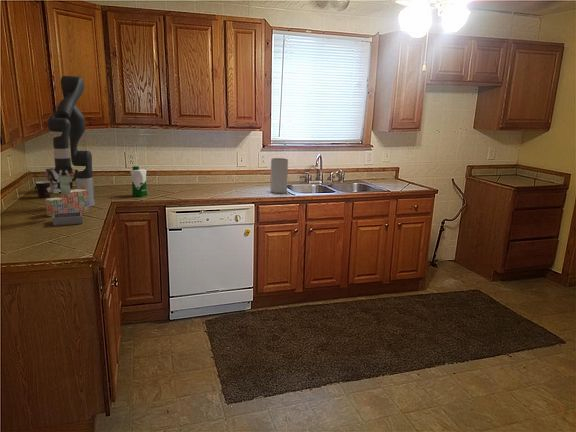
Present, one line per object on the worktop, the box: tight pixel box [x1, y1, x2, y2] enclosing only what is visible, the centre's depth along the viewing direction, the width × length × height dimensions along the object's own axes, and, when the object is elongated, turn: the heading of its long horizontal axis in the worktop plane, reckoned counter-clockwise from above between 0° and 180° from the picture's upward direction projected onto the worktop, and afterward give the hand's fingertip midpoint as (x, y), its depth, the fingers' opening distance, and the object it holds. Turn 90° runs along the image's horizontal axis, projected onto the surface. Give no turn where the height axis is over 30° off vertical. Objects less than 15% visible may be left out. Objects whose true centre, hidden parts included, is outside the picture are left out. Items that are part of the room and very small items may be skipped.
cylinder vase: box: [270, 157, 289, 194], centre depth 321 cm, size 12×12×25 cm
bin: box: [51, 212, 83, 227], centre depth 221 cm, size 10×13×4 cm
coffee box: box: [45, 167, 61, 194], centre depth 293 cm, size 9×6×16 cm
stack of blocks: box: [44, 188, 90, 218], centre depth 240 cm, size 21×6×12 cm, turn 146°
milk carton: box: [129, 165, 148, 198], centre depth 290 cm, size 9×9×20 cm
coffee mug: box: [34, 180, 51, 199], centre depth 275 cm, size 12×9×10 cm
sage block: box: [59, 175, 71, 195], centre depth 227 cm, size 5×4×10 cm
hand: (65, 188), depth 227 cm, fingers closed on sage block, 4 cm apart
